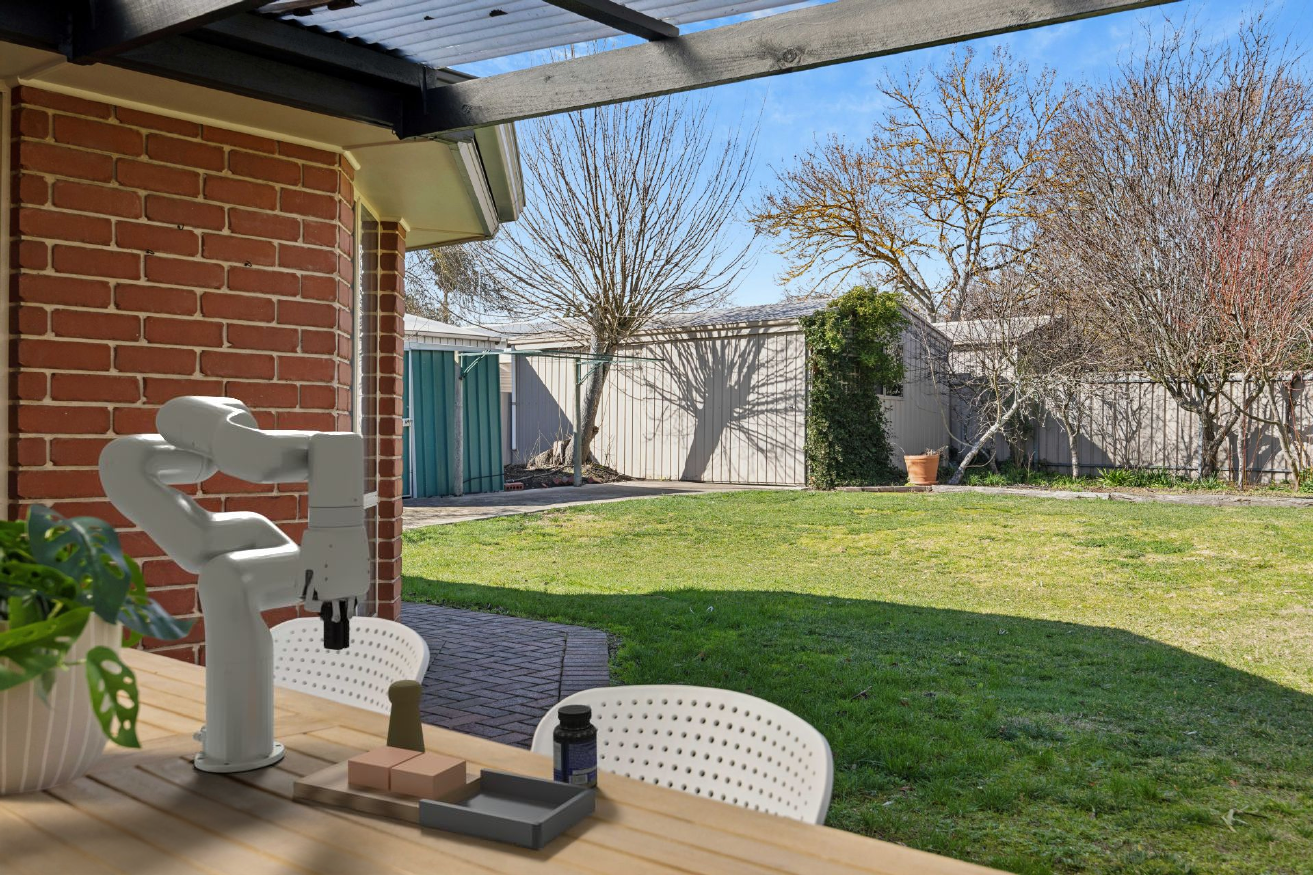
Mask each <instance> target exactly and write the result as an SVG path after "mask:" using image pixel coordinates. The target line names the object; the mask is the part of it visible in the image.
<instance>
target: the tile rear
mask: <svg viewBox="0 0 1313 875" xmlns="http://www.w3.org/2000/svg"><path fill="white" fill-rule="evenodd" d="M361 754H362V755H360V754H359V755H360V756H357V755H356V756H357V757H355V756H354V757H355V758H352V757H351V758H352V759H350V758H349V759H350V760H348V782H349V783H354V784H359V785H364V786H369V787H374V788H379V789H384V790H390V789H391V768H392V767H395V766H397V765H399V764H402V763H404V762H406V761H408V760H411V759H413V758H415V757H417V756H420V755H422V754H424V753H423V752H417V751H411V750H406V749H400V748H394V747H389V746H386V745H382V746H379V747H377V748H375V749H372V750H370V751H368V752H364V753H361Z"/></svg>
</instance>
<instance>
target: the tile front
mask: <svg viewBox="0 0 1313 875" xmlns="http://www.w3.org/2000/svg"><path fill="white" fill-rule="evenodd" d="M466 773H467V759H462V758H457V757H450V756H444V755H439V754H434V753H427V752H424V753H423V754H422V755H420V756H417V757H415V758H413V759H411V760H408V761H406V762H404V763H402V764H399V765H397V766H395V767H392V768H391V791H394V792H399V793H404V794H409V795H414V796H419V797H424V798H429V799H434V798H436V797H438V796H440V795H442V794H444V793H446V792H448V791H450V790H452V789H454V788H456V787H458V786H460V785H462V784H464V783H466Z"/></svg>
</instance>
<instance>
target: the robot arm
mask: <svg viewBox="0 0 1313 875" xmlns="http://www.w3.org/2000/svg"><path fill="white" fill-rule="evenodd" d="M155 426H156V427H155V428H156V430H157V433H139V434H138V433H136V434H130V435H124V436H121V437H118V438H115V439H112V440H111V441H109V442H108V443H107V444H106V445H105V446H104V447H103V449H102V450H101V452H100V454H99V458H98V474H99V478H100V479H99V480H100V483H101V486H102V489H103V491H104V493H105V495H106V496H107V499H108V500H109V502H110V503H111V504H112V506H114V507H115V508H116V510H118V512H119V513H120V514H122V515H123V516H124V517H125V518H127V519H128V520H129V521H130V522H132V523H133V524H134V525H136V526H137V527H138V528H139V529H141V530H142V531H143V532H144V533H146V535H147V536H149V538H150V539H151V540H152V541H153V542H154V543H155V544H156V545H157V546H158V547H159V548H160V550H162V551H163V552H164V553H165V554H166V555H168V556H169V557H170V559H171V560H172V561H174V563H176V564H177V565H178V566H179V567H180V568H181V569H183V570H184V571H186V572H187V573H189V574H194V575H198V580H197V591H198V596H199V597H198V598H199V601H200V606H201V610H202V616H203V623H204V636H205V637H204V638H205V642H204V643H205V644H204V645H205V724H204V725H202V727H201V728H200V731H196V732H194V733H193V735H192V739H193V741H195V742H201V745H202V746H201V751H199V752H198V753H196V755H195V756H194V766H195V767H196V768H197V769H199V770H201V771H204V772H208V773H209V772H210V773H235V772H236V773H237V772H238V773H239V772H244V771H250V770H255V769H259V768H263V767H266V766H269V765H272V764H275V763H277V762H278V761H280V760H281V759H282V758H283V757H284V756H285V753H286V752H285V745H284V744H283V743H281V742H279V741H275V739H274V738H275V733H274V732H275V731H274V730H275V724H274V722H275V721H274V720H275V715H274V714H275V711H274V710H275V709H274V708H275V704H274V703H275V702H274V701H275V695H274V693H275V692H274V691H275V690H274V689H275V688H274V686H275V684H274V682H275V681H274V680H275V674H274V672H275V670H274V668H275V666H274V665H275V664H274V662H275V661H274V660H275V659H274V658H275V657H274V656H275V654H274V650H275V649H274V646H275V645H274V639H273V635H272V632H271V631H270V628H269V626H268V625H267V624H266V622H265V621H264V619H263V617H262V615H261V612H264V611H268V610H274V609H278V608H284V607H289V606H293V605H295V604H299V603H301V602H303V601H304V606H303V609H304V610H305V612H312V613H316V614H317V615H318V618H319V620H320V621H321V622H323V648H324V649H325V650H332V651H342V650H343V649H344V650H346V649H349V648H350V620H352V619H353V617H354V611H355V609H356V607H357V606H358V605H359V604H361V603H363V602H364V601H366V600H367V596H368V595H367V592H368V591H369V589H370V586H371V558H370V557H371V556H370V546H369V539H368V533H367V529H366V526H365V516H366V510H365V506H364V504H365V500H364V499H365V485H364V484H365V479H364V478H365V475H364V474H365V472H364V471H365V467H364V465H365V464H364V463H365V462H364V461H365V460H364V458H365V455H364V454H365V453H364V452H365V451H364V447H365V446H364V440H363V437H362V436H361V435H360V434H359V433H357V432H353V431H351V432H350V431H318V430H285V429H284V430H278V429H277V430H272V429H271V430H262V429H260V428H259V424H258V422H257V419H255V417H254V416H253V414H252V412H251V410H250V409H249V407H248V406H247V405H245V403H244V402H242V401H241V400H238V399H235V398H231V397H224V396H223V397H222V396H221V397H220V396H217V397H216V396H202V395H201V396H199V395H196V396H194V395H186V396H185V395H184V396H178V397H175V398H172V399H170V400H168V401H166V402H165V403H164V404H162V406H161V407H160V408H159V410H158V411H157V413H156V417H155ZM218 471H220V472H221V473H223V474H225V475H227V476H231V477H234V478H237V479H239V480H242V481H245V482H250V483H254V484H262V485H263V484H264V485H266V484H267V485H268V484H271V485H272V484H285V483H307V485H308V486H307V487H308V490H307V494H308V497H307V499H308V500H307V505H308V507H307V508H308V509H307V513H308V515H307V522H308V523H307V526H308V527H307V529H304V530H303V532H302V533H303V534H302V537H301V542H300V546H299V545H298V544H297V543H296V542H295V541H294V540H293V539H291V537H289V536H288V535H287V534H286V533H285V532H284V531H282V530H281V529H280V528H279V527H278V526H277V525H276V524H275V523H274V522H273V521H271V520H270V519H269V518H268V517H266V516H264V515H263V514H260V513H258V512H255V511H253V512H252V511H247V510H246V511H245V510H244V511H228V512H227V511H226V512H218V511H217V512H215V511H214V512H213V511H210V510H207V509H205V508H204V507H202V506H201V505H200V504H199V503H197V502H196V500H194V498H192V497H191V496H190V495H188V494H187V493H186V492H183V491H182V490H179V489H178V488H175V487H172V485H189V484H191V485H192V484H198V483H202V482H204V481H206V480H208V479H209V478H211V477H212V476H213V475H215V474H216V473H217V472H218ZM170 485H171V486H170Z"/></svg>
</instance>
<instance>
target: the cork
mask: <svg viewBox="0 0 1313 875" xmlns="http://www.w3.org/2000/svg"><path fill="white" fill-rule="evenodd" d="M422 695H423V688H422V684H421V683H420V682H419V681H417V680H414V679H400V680H397V681H396V680H395V681H394V682H392V683H390V685H389V687H388V690H387V697H388V701H389V703H391V706H390V707H391V708H390V714H389V723H388V729H387V730H388V731H387V737H386V745H385V746H389V747H394V748H400V749H406V750H411V751H417V752H423V754H424V753H426V747H425V739H424V733H423V726H422V718H421V712H420V704H419V703H420V700H421V699H422Z"/></svg>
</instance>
